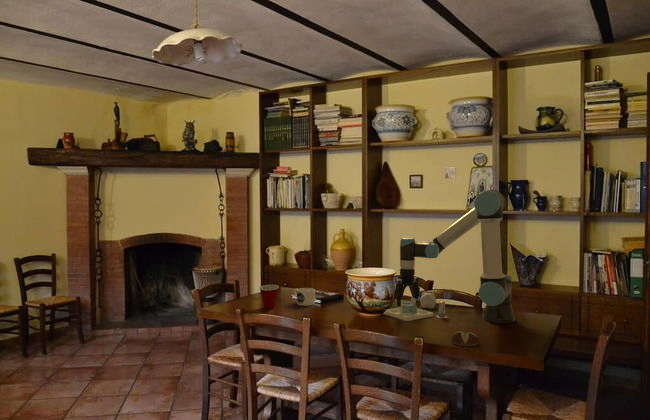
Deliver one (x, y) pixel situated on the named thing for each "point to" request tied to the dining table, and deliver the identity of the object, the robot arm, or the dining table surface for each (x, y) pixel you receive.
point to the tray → (408, 314)
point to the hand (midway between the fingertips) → (406, 311)
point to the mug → (305, 296)
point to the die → (428, 300)
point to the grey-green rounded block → (409, 308)
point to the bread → (465, 339)
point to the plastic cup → (269, 295)
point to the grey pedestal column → (441, 310)
